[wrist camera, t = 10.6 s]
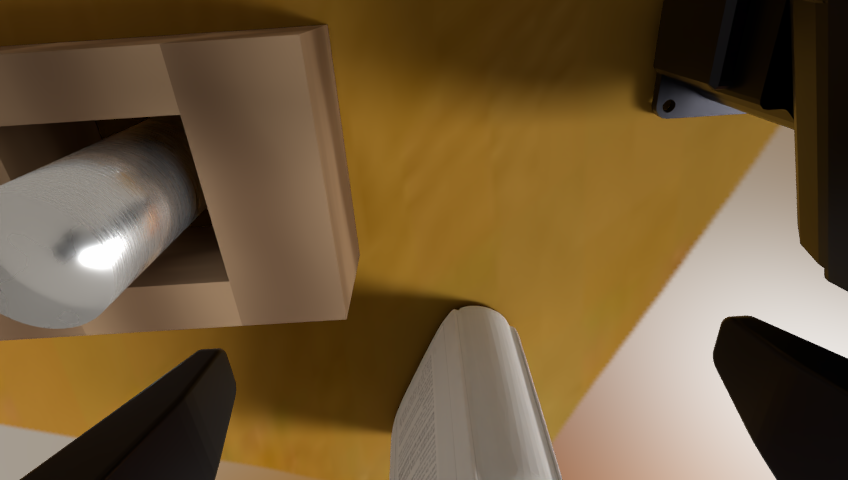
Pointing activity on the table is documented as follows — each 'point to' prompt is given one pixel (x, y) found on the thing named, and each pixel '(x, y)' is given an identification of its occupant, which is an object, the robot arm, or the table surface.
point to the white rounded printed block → (472, 408)
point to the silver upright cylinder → (94, 222)
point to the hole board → (206, 168)
